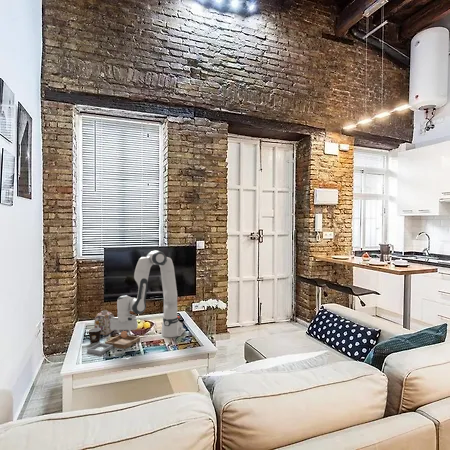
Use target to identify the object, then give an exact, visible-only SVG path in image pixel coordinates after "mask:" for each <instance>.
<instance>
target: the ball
mask: <svg viewBox="0 0 450 450" xmlns="http://www.w3.org/2000/svg"><path fill="white" fill-rule="evenodd" d="M120 333H121V337H122V338H125V337H127V333H128V331H127V330H122V331H120Z"/></svg>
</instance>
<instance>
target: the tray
mask: <svg viewBox="0 0 450 450" xmlns="http://www.w3.org/2000/svg"><path fill="white" fill-rule="evenodd" d="M99 347H105V348H103V349H102V350H101V349H99V350H98V349H96V348H99ZM113 348H114V347H113V345H110V344H105V342H104V343H103V342H98V343H95V344H94V345H93V346H90V347H88V348H87V349H86V353H88V354H92V355H93V354H94V355H97V356H102V355H104V354H105V353H106V352H107V351H108V352H109V350H112V349H113Z"/></svg>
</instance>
